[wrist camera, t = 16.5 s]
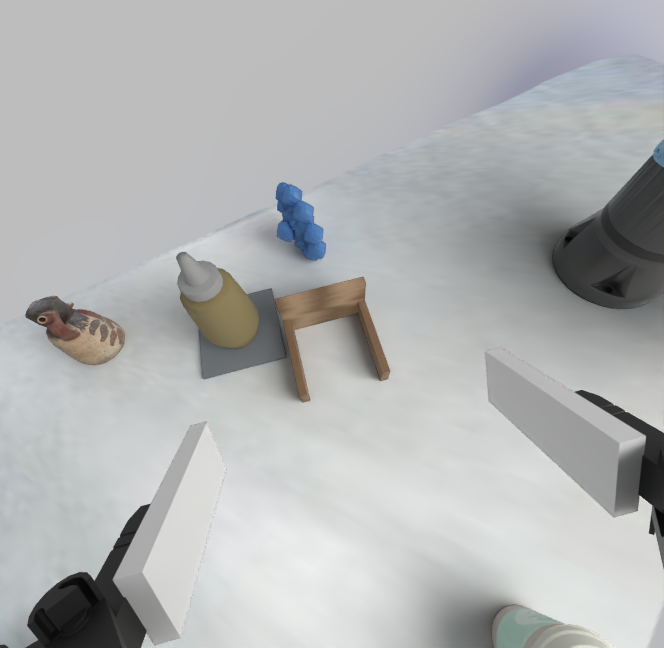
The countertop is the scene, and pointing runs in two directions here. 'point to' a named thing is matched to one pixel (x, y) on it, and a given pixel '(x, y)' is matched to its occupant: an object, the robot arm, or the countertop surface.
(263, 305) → the rubber mat
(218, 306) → the squeeze bottle
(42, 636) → the robot arm
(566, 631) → the coffee cup
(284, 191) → the grapes
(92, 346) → the figurine
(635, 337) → the countertop surface
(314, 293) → the brown wooden frame
